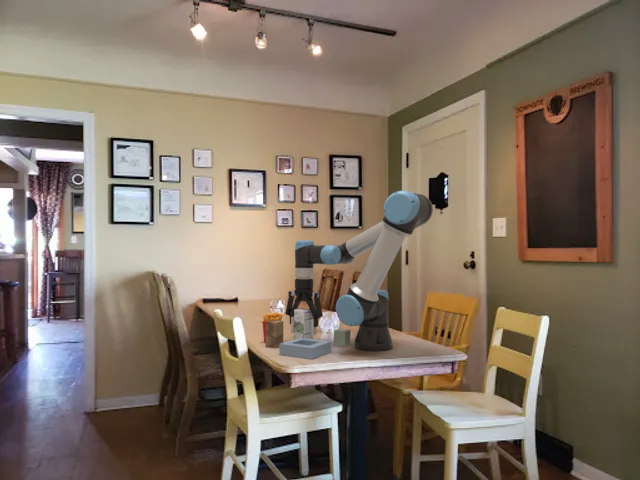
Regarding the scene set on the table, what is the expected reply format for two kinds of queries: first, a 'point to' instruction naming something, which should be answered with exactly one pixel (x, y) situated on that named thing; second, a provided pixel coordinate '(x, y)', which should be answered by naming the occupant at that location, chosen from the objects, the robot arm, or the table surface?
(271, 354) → the table surface
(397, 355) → the table surface
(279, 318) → the french fries
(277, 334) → the walnut peg
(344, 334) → the greygreen peg
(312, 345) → the hole block
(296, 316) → the syrup box
